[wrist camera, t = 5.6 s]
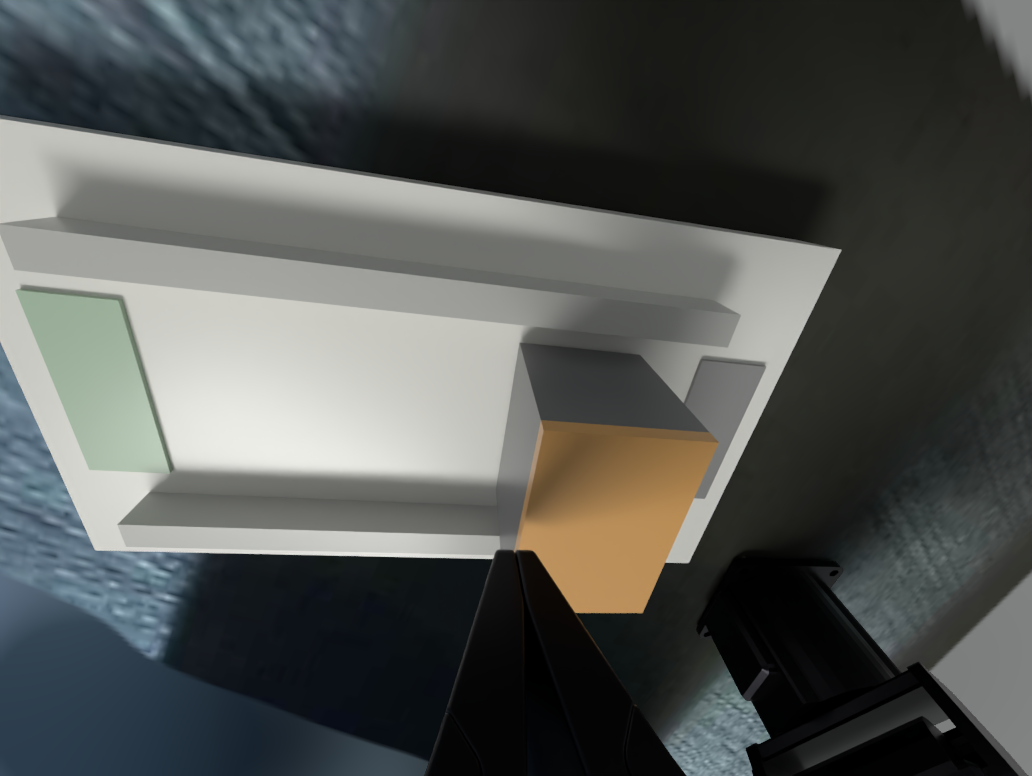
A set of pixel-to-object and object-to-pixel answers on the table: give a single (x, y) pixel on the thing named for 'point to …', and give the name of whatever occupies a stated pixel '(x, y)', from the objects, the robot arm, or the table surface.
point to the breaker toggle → (597, 472)
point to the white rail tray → (344, 338)
